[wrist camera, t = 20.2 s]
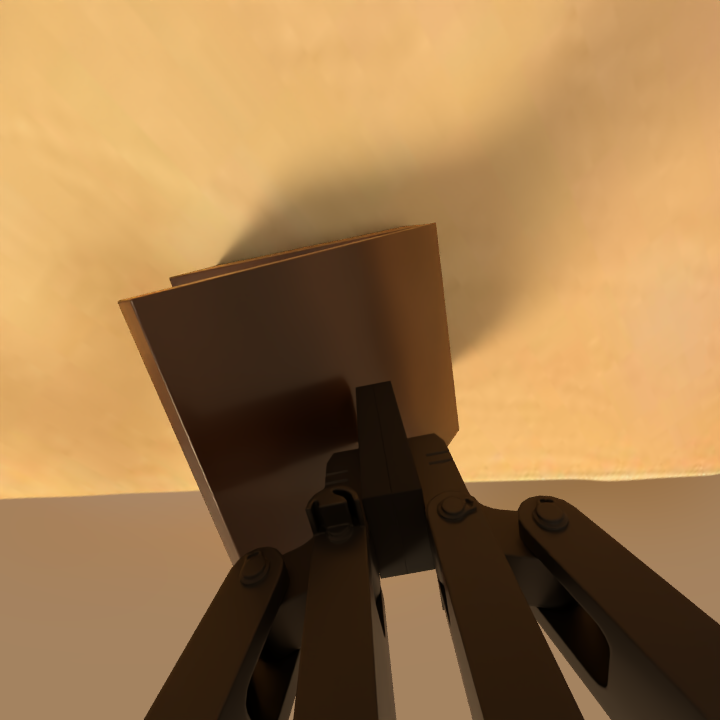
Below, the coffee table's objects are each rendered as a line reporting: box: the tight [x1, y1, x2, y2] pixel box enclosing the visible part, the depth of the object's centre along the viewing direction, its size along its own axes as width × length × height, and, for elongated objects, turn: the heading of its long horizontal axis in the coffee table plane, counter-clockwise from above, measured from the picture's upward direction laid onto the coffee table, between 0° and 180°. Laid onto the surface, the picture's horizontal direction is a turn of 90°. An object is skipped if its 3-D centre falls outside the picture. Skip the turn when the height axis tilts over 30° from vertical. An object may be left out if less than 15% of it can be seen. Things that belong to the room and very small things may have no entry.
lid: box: [118, 223, 459, 566], centre depth 17 cm, size 17×14×1 cm
